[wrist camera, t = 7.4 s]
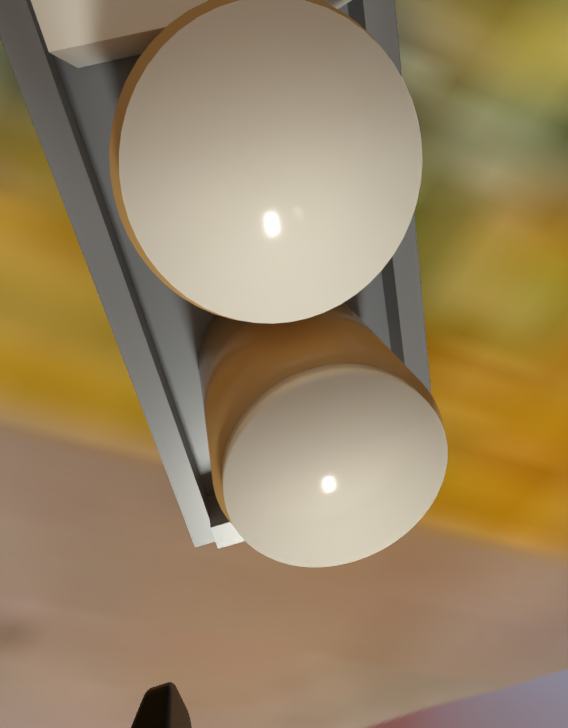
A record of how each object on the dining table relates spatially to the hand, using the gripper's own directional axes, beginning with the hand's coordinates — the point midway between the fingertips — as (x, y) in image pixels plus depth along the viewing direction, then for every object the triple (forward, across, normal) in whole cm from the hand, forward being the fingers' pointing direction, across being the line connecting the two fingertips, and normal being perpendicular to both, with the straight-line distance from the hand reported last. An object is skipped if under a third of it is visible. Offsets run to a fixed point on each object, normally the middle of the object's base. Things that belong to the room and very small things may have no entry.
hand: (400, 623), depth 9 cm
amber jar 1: (+10, 0, -7) cm, 12 cm away
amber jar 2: (+10, 0, 0) cm, 10 cm away
